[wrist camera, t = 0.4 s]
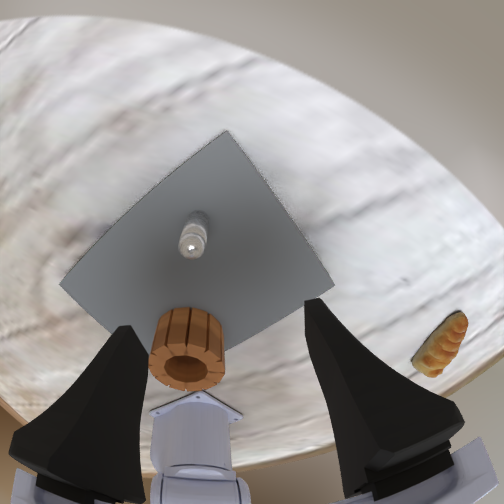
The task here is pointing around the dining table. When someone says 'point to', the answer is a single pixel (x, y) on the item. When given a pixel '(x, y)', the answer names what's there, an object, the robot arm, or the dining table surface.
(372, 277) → the dining table surface
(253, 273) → the grey rectangular slab
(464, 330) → the pastry
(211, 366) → the bead
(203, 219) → the metal post
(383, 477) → the robot arm
